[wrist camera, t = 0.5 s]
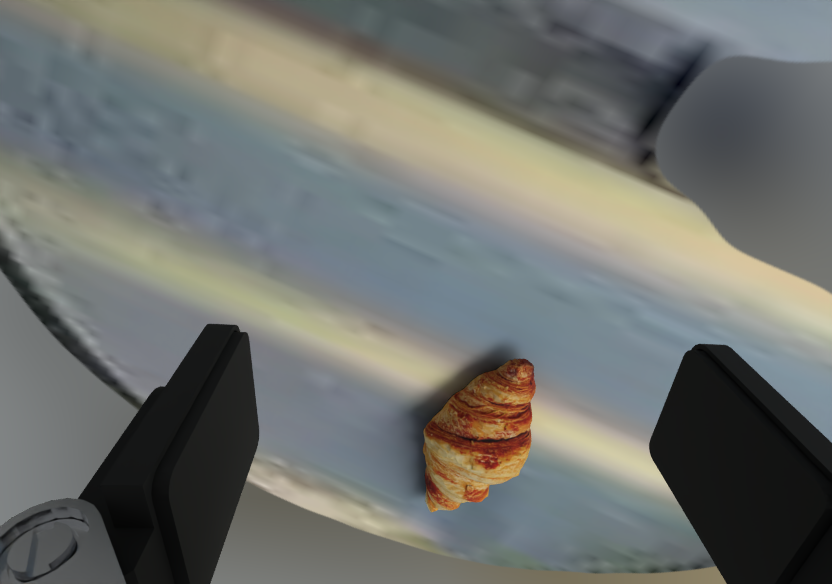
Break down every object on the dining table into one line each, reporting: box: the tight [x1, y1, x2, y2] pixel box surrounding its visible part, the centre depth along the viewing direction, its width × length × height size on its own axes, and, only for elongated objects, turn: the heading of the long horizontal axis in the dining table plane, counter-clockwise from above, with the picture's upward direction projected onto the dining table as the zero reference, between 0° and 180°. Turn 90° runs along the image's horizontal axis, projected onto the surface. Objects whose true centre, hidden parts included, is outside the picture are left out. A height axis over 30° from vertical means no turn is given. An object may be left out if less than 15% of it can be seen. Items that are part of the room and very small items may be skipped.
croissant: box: [423, 359, 536, 512], centre depth 47 cm, size 21×10×8 cm, turn 159°
